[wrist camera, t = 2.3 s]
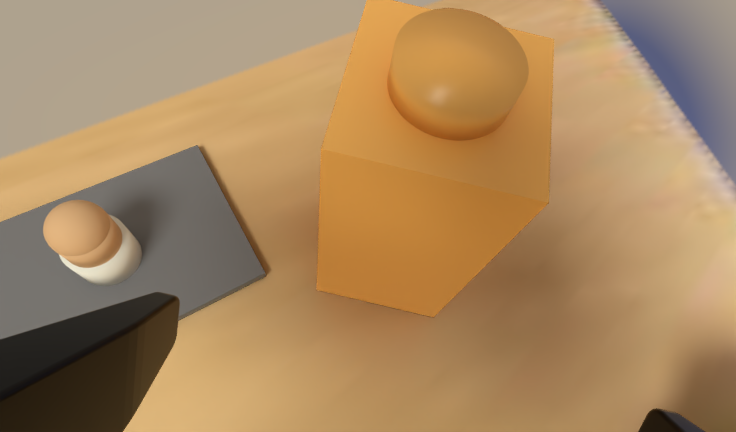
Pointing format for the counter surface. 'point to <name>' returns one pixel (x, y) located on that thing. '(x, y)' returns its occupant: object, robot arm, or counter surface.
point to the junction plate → (165, 230)
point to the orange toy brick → (431, 154)
